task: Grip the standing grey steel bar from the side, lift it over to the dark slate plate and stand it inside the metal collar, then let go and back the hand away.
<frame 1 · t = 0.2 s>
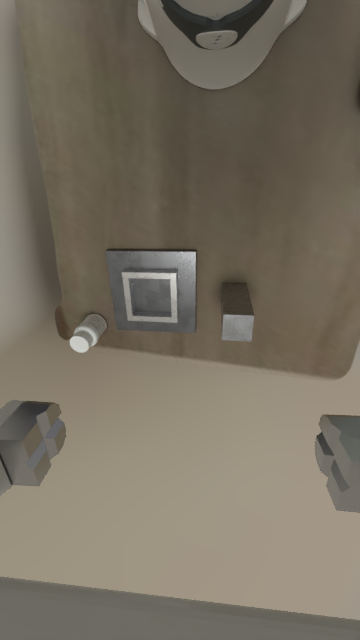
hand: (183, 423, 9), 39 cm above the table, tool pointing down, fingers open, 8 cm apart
steel bar: (233, 293, 48), on the table
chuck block: (154, 291, 49), on the table
pill bottle: (97, 322, 54), on the table
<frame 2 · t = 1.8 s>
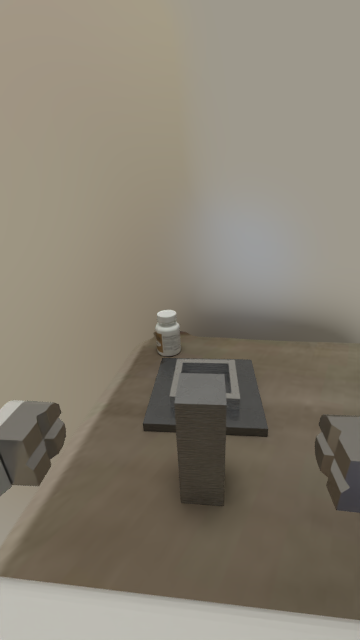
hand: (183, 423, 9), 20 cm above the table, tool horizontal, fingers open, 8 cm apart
steel bar: (202, 484, 28), on the table
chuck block: (205, 393, 40), on the table
pill bottle: (169, 351, 52), on the table
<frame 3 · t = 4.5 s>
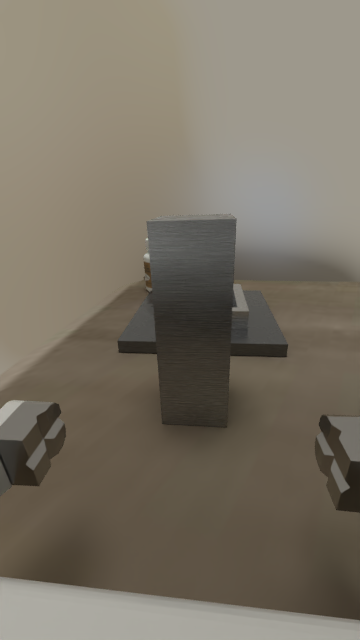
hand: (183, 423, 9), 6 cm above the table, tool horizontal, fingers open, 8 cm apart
steel bar: (195, 403, 19), on the table
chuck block: (202, 320, 32), on the table
pill bottle: (160, 290, 43), on the table
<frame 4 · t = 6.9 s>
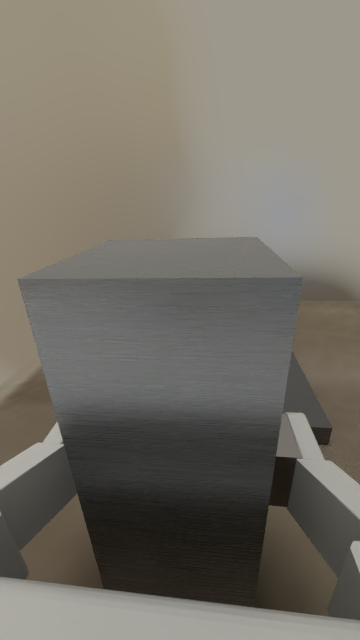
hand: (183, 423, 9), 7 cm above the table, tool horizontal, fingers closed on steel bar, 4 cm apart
steel bar: (186, 572, 10), on the table, touching gripper
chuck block: (200, 366, 23), on the table
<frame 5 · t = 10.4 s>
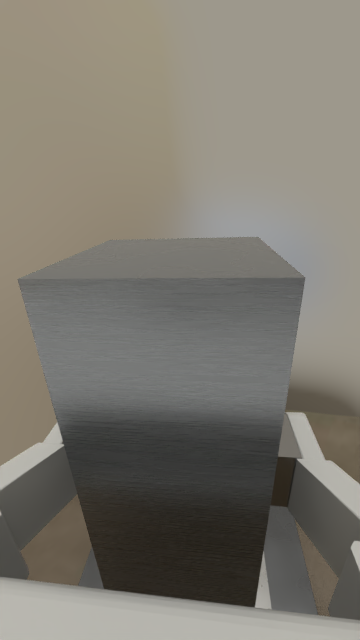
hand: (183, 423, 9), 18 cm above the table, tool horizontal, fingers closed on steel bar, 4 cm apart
steel bar: (186, 573, 10), point 11 cm above the table, touching gripper
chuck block: (195, 563, 20), on the table
when the fingers open (9 cm above the table, at t = 13.4 s): steel bar drops 1 cm, resting on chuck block.
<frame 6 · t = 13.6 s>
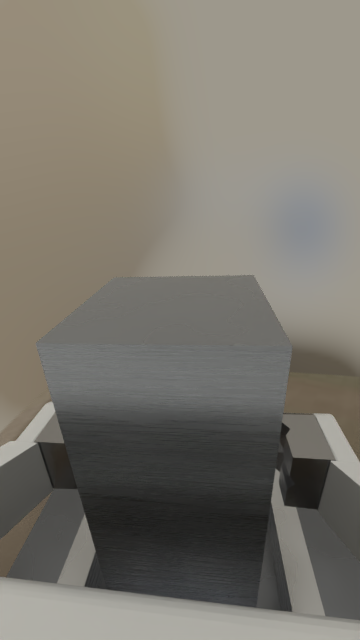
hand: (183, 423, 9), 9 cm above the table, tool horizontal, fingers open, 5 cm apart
steel bar: (189, 586, 11), point 1 cm above the table, touching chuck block
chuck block: (188, 601, 11), on the table
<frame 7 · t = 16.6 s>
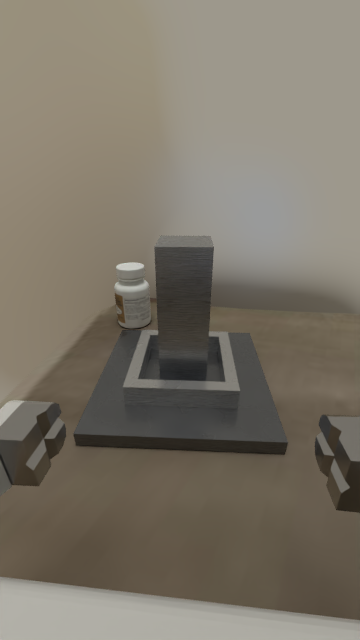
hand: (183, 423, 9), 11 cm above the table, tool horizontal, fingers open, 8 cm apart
steel bar: (183, 371, 26), point 1 cm above the table, touching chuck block
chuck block: (182, 381, 26), on the table
pill bottle: (134, 323, 38), on the table
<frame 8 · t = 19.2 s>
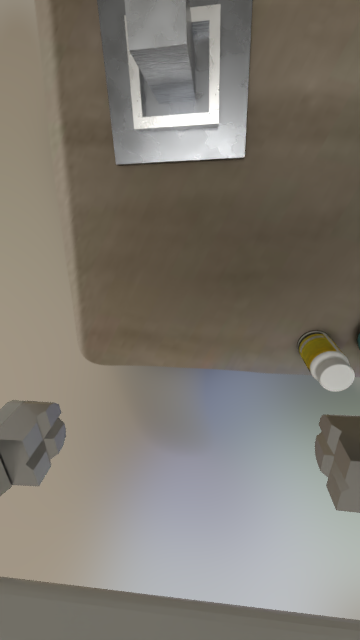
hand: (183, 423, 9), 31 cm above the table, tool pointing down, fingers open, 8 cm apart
steel bar: (176, 78, 29), point 1 cm above the table, touching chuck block
supplement bottle: (313, 343, 41), on the table
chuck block: (177, 83, 30), on the table
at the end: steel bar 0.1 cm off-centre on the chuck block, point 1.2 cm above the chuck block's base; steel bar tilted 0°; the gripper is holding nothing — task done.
